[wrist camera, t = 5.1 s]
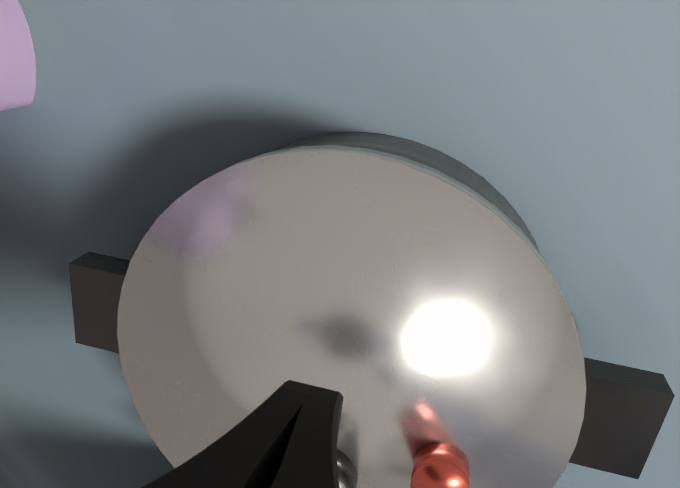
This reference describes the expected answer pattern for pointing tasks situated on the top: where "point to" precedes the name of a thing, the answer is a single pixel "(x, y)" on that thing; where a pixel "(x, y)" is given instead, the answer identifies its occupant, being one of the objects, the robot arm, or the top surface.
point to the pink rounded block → (15, 58)
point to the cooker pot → (601, 377)
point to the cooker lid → (356, 320)
